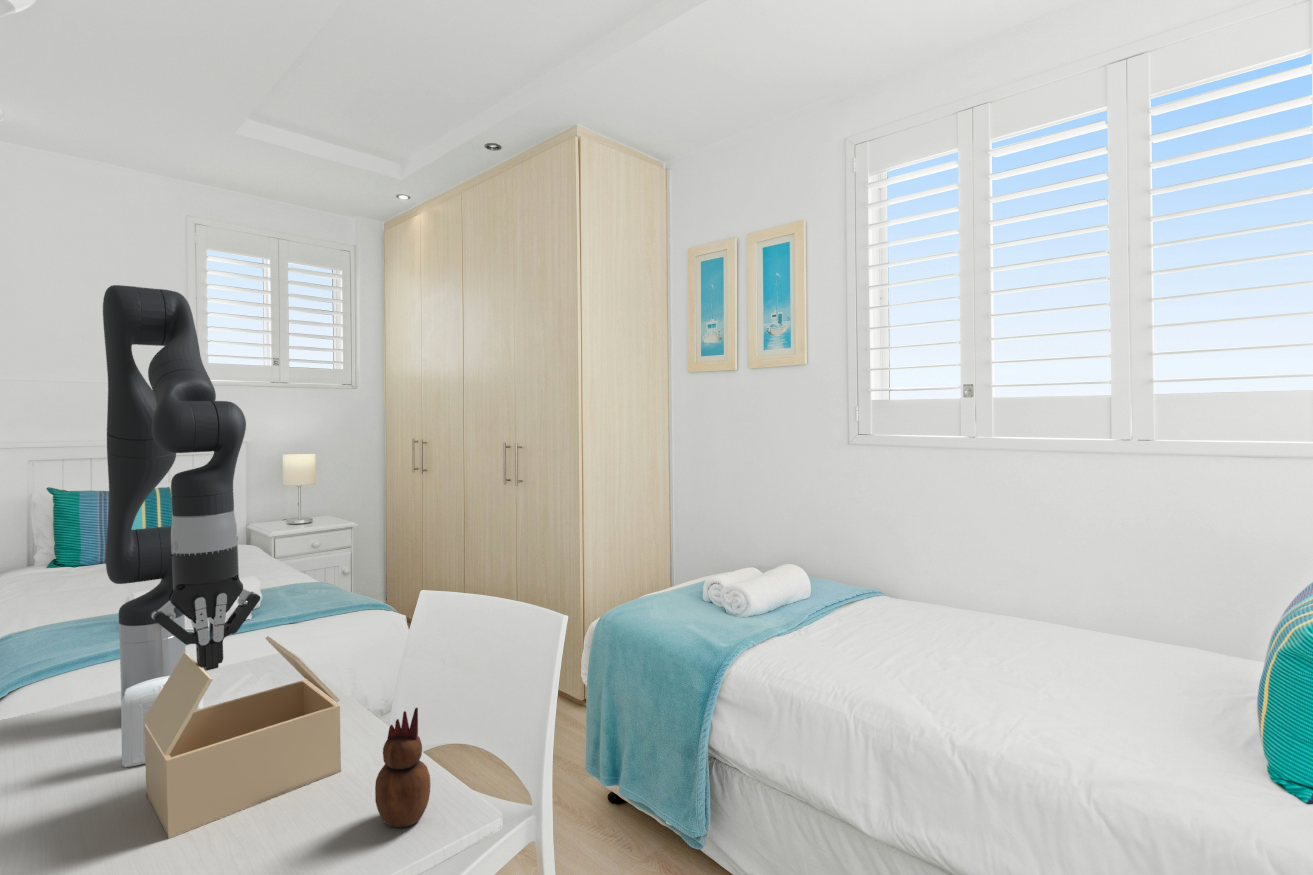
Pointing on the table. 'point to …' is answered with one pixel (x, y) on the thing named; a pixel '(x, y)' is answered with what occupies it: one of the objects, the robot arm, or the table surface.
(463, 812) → the table surface
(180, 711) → the near flap
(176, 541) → the robot arm
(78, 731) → the table surface
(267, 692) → the carton
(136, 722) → the photo printer
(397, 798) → the wooden figurine
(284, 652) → the far flap
